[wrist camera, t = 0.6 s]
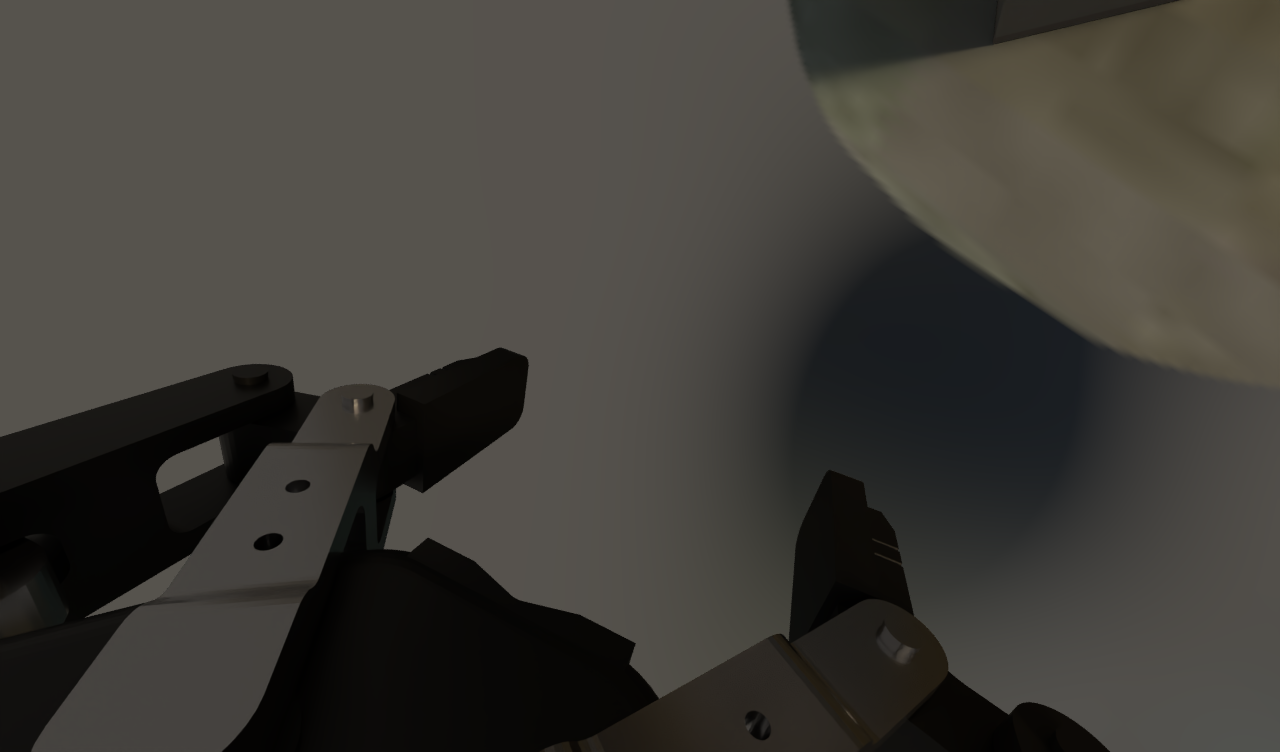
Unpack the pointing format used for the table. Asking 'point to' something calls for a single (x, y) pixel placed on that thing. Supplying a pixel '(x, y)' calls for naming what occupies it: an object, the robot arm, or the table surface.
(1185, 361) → the table surface
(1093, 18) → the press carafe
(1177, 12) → the table surface
